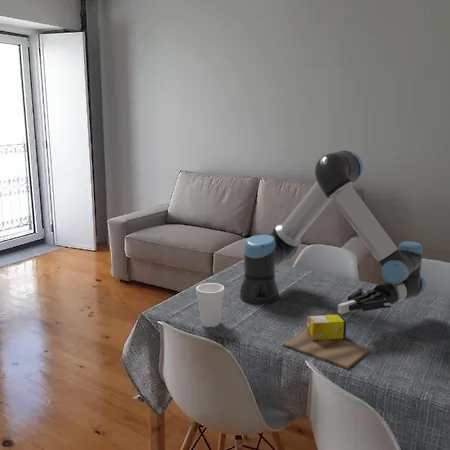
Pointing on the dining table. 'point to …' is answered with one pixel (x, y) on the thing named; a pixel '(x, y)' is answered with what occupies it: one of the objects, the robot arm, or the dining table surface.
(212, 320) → the foam cup
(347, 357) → the brown flat board
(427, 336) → the dining table surface
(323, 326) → the supplement box
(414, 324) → the dining table surface
